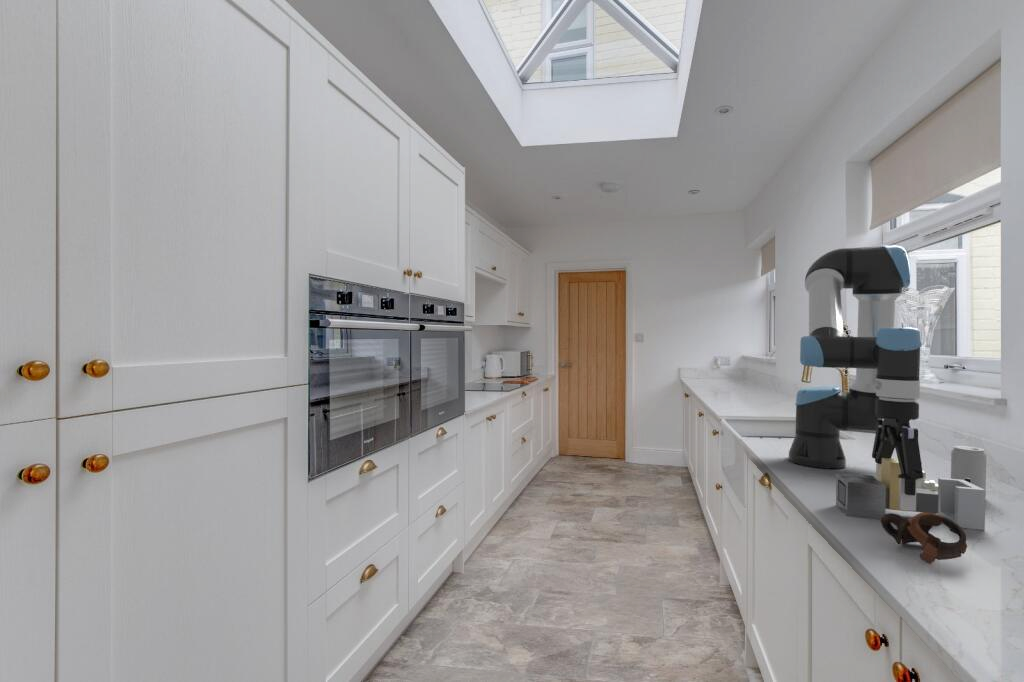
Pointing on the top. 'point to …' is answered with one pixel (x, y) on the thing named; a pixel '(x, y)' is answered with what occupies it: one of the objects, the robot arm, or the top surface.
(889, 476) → the two-tone stepped block
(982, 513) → the socket
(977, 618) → the top surface
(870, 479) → the gray block
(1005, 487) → the top surface
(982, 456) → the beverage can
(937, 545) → the rusty metal ring bracket
